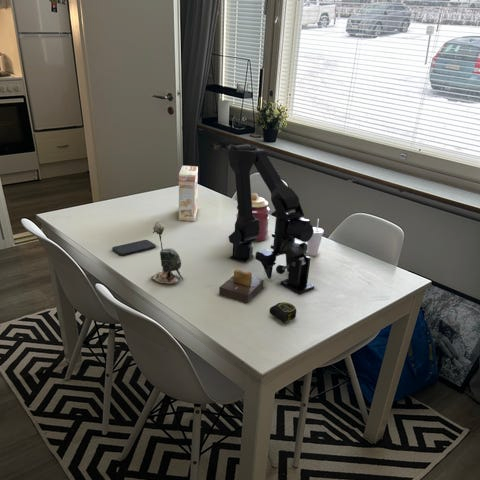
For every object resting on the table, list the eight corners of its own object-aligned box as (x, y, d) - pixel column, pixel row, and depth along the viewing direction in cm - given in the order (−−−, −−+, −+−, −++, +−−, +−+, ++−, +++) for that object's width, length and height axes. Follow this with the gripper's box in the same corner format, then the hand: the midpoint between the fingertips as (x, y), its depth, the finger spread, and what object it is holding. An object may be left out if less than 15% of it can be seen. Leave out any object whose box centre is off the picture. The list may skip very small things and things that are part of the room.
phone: (157, 245, 189) (121, 254, 181) (157, 247, 190) (121, 256, 181) (146, 239, 194) (110, 247, 185) (146, 241, 194) (111, 249, 186)
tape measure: (267, 315, 151) (268, 304, 149) (285, 310, 154) (286, 299, 153) (281, 326, 146) (283, 315, 144) (300, 320, 150) (301, 309, 148)
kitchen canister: (230, 238, 202) (232, 194, 193) (242, 228, 212) (244, 186, 203) (260, 244, 198) (264, 200, 189) (271, 234, 208) (275, 191, 199)
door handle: (275, 276, 172) (272, 267, 172) (282, 273, 174) (279, 264, 174) (301, 266, 162) (297, 257, 162) (307, 264, 164) (304, 255, 164)
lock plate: (247, 303, 157) (248, 294, 155) (219, 295, 160) (219, 286, 159) (263, 288, 166) (264, 279, 165) (236, 280, 170) (236, 272, 168)
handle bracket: (279, 284, 169) (283, 254, 164) (294, 279, 173) (298, 249, 168) (299, 295, 164) (303, 264, 158) (314, 289, 168) (318, 259, 162)
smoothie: (319, 258, 190) (325, 222, 182) (302, 256, 191) (307, 220, 183) (320, 251, 195) (326, 216, 188) (304, 249, 196) (308, 214, 189)
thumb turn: (233, 282, 162) (234, 270, 160) (235, 280, 163) (236, 268, 161) (248, 286, 160) (249, 274, 158) (251, 284, 161) (251, 272, 159)
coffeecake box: (194, 221, 216) (195, 175, 206) (178, 220, 216) (177, 174, 206) (197, 209, 229) (198, 166, 219) (182, 208, 229) (181, 165, 219)
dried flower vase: (170, 290, 161) (169, 230, 151) (147, 278, 168) (145, 220, 157) (189, 282, 167) (189, 224, 156) (166, 271, 173) (165, 214, 163)
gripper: (280, 246, 155) (275, 291, 163) (321, 233, 166) (314, 277, 174) (255, 234, 162) (252, 278, 170) (296, 223, 173) (291, 265, 181)
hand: (278, 275), depth 173 cm, fingers open, 9 cm apart
